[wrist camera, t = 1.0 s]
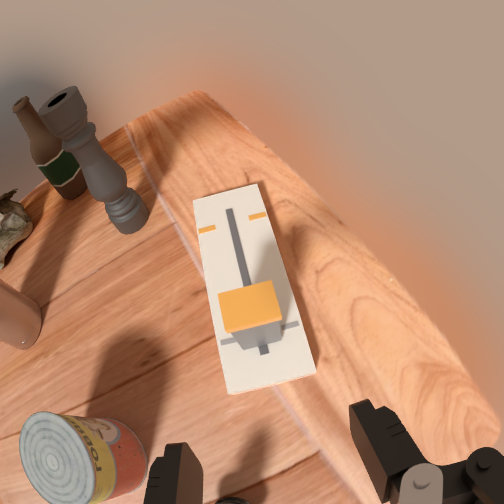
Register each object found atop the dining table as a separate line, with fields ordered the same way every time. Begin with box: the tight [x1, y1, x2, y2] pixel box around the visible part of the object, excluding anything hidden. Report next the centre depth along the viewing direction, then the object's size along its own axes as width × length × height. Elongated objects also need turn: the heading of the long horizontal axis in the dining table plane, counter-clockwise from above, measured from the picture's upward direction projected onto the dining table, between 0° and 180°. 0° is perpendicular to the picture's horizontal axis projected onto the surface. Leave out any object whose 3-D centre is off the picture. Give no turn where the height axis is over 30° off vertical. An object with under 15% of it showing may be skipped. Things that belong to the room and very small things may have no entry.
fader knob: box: [218, 280, 282, 350], centre depth 29 cm, size 3×5×10 cm
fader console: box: [193, 184, 317, 395], centre depth 39 cm, size 28×10×3 cm, turn 13°
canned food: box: [19, 412, 147, 504], centre depth 24 cm, size 11×11×12 cm
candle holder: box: [38, 86, 149, 234], centre depth 37 cm, size 6×6×25 cm
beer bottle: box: [12, 96, 87, 199], centre depth 44 cm, size 8×8×24 cm
